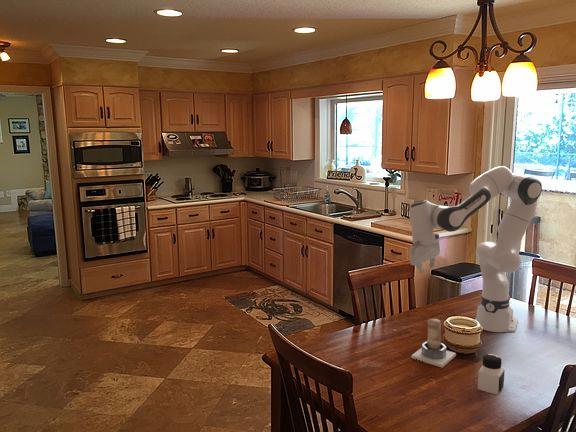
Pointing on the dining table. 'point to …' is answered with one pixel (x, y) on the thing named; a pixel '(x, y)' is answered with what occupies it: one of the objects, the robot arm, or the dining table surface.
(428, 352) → the socket board
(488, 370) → the medicine bottle
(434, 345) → the wooden pin
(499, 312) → the robot arm
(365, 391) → the dining table surface
